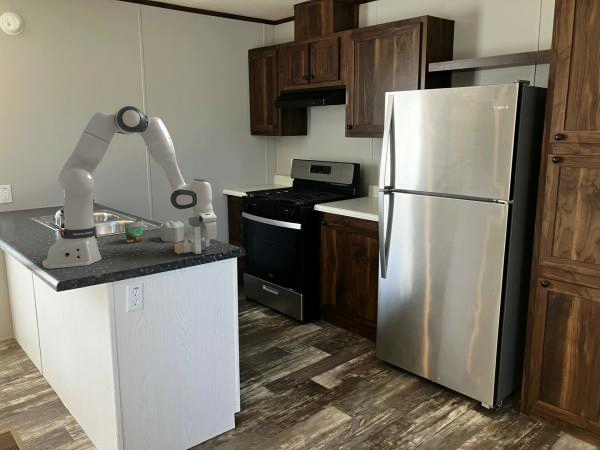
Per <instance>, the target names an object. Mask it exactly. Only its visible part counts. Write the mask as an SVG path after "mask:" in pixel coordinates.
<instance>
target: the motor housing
mask: <svg viewBox="0 0 600 450" xmlns="http://www.w3.org/2000/svg"><path fill="white" fill-rule="evenodd" d="M183 224H184V240H183V241H184V243H189V242H192V253H193V254H195V255H199V254H202V250H201V236H200V226H199V219H197V218H195V217H193V216H192V217H188V221H187V220H186V221H183Z"/></svg>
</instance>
